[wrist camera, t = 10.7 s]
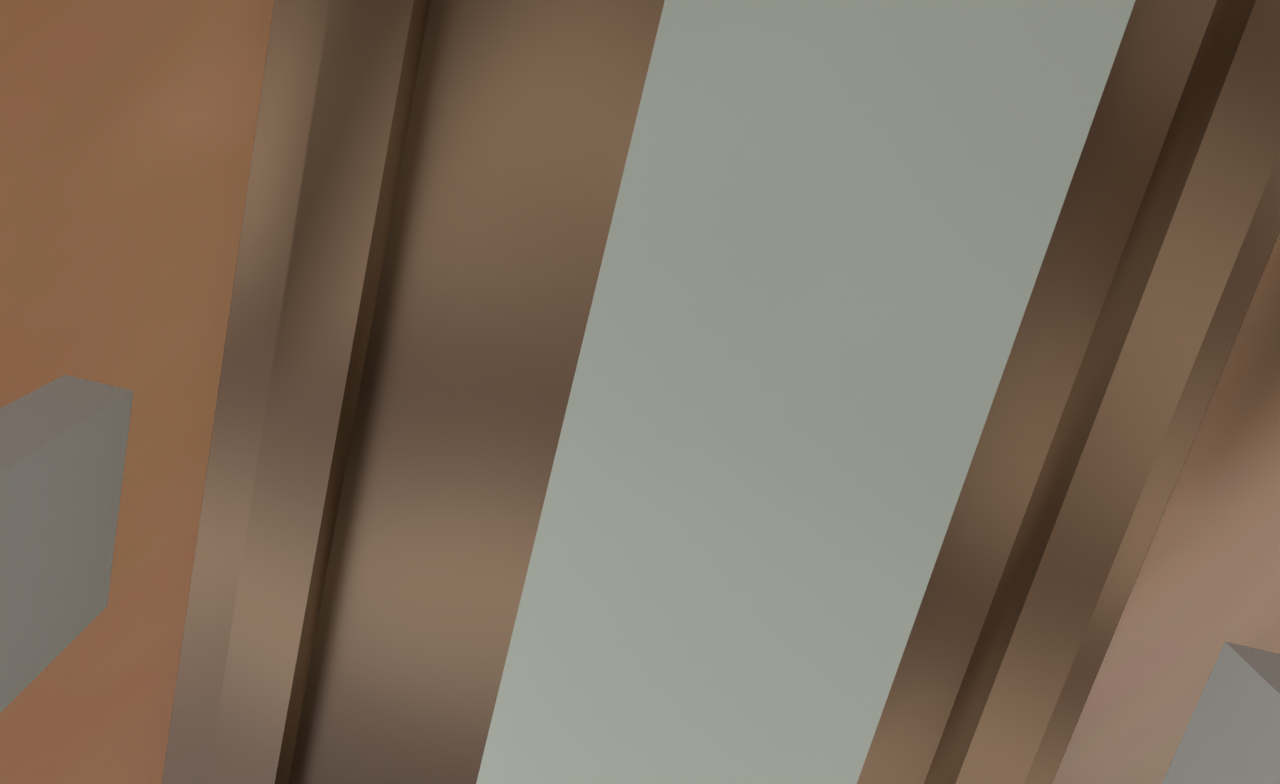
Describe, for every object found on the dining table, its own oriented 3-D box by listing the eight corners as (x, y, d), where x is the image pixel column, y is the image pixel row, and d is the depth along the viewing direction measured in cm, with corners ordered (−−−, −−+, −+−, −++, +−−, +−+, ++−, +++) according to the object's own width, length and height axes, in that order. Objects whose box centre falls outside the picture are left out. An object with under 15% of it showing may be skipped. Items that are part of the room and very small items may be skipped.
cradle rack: (876, 1131, 21) (935, 1406, 17) (151, 984, 20) (14, 1234, 16) (1421, -224, 14) (1754, -353, 10) (377, -523, 14) (249, -806, 9)
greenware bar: (448, 902, 18) (376, 1197, 13) (689, -99, 14) (710, -191, 9) (678, 951, 19) (688, 1258, 14) (986, -19, 14) (1160, -67, 9)
